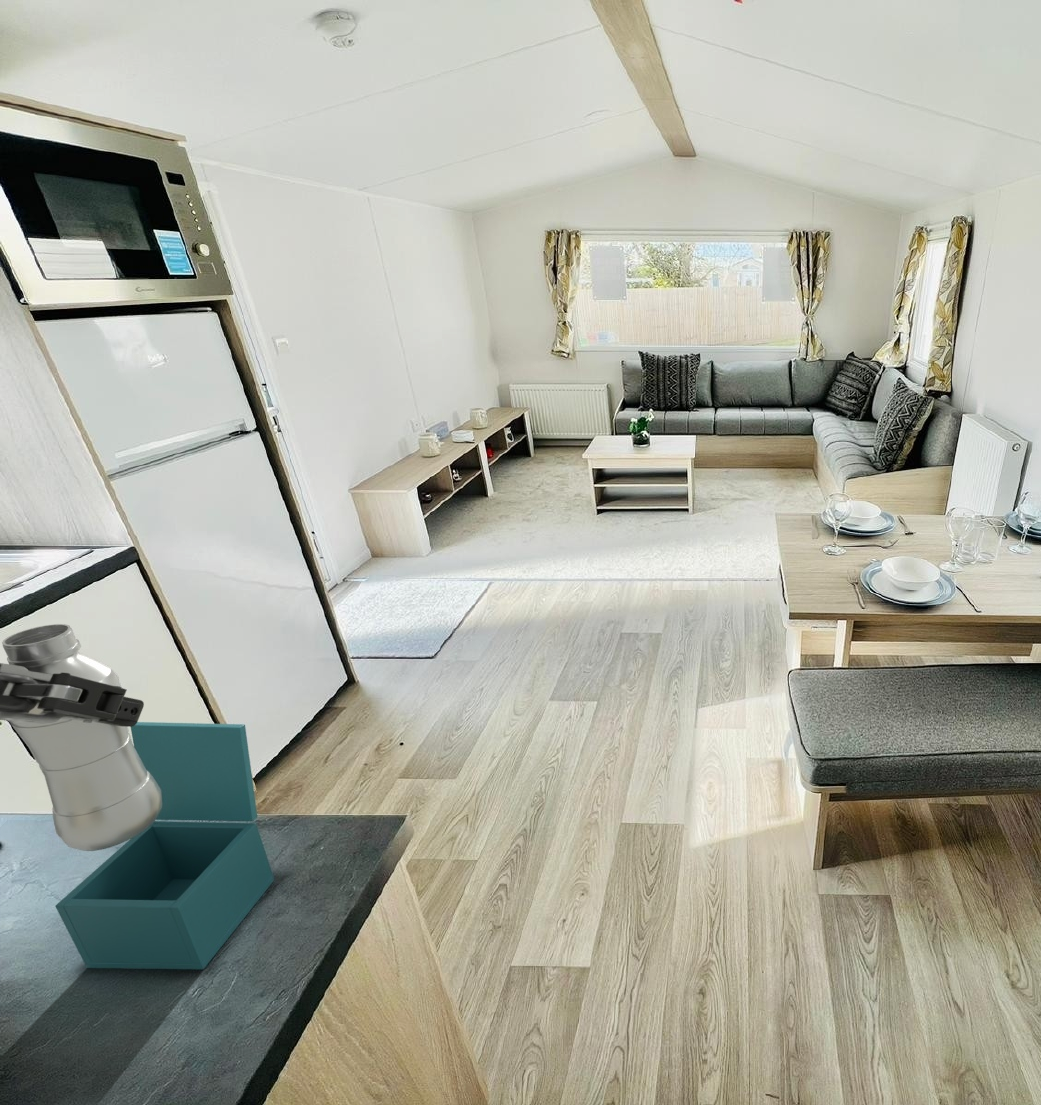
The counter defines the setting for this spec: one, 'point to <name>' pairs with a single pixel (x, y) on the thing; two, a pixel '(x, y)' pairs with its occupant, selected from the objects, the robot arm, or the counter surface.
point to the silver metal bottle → (84, 751)
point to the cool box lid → (198, 769)
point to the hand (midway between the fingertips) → (93, 713)
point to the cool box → (168, 896)
